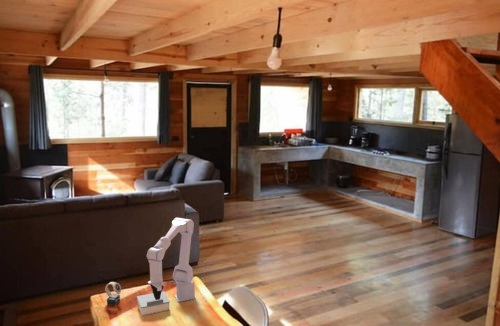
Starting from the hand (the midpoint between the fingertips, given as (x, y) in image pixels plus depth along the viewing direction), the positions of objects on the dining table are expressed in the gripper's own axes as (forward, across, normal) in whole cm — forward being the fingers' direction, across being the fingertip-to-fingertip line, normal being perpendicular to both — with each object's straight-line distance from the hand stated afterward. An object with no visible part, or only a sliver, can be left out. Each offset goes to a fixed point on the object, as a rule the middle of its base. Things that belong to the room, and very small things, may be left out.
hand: (157, 298), depth 201 cm
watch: (+11, -25, -18) cm, 33 cm away
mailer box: (+10, -11, 0) cm, 15 cm away
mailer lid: (+6, -11, 0) cm, 13 cm away
